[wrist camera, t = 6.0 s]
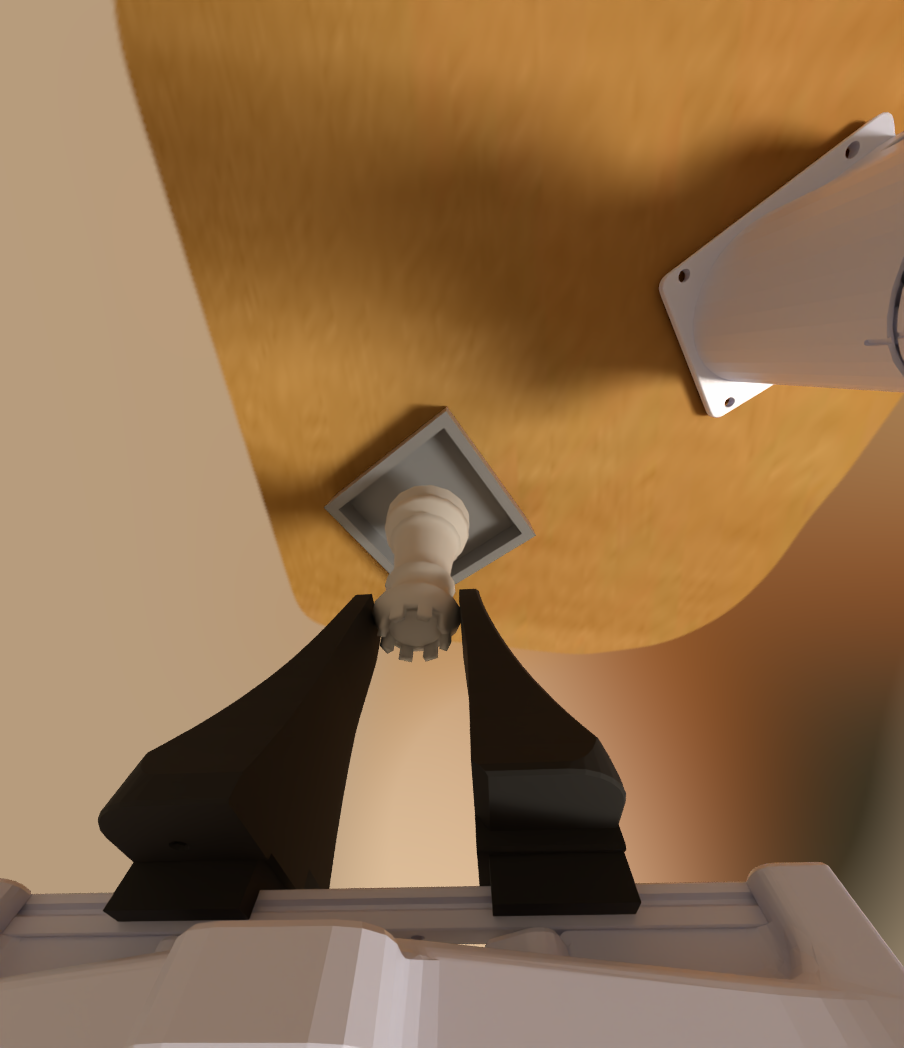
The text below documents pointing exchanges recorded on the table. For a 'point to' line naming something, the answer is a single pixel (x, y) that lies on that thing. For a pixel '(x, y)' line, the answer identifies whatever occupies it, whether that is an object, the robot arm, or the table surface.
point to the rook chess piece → (421, 572)
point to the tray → (445, 463)
